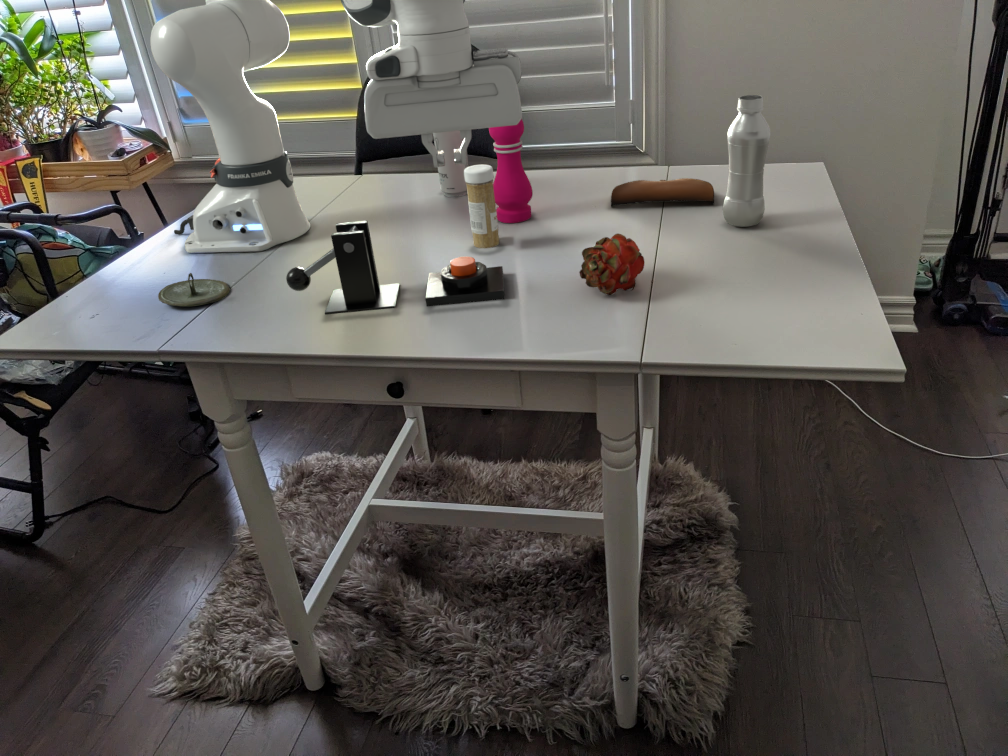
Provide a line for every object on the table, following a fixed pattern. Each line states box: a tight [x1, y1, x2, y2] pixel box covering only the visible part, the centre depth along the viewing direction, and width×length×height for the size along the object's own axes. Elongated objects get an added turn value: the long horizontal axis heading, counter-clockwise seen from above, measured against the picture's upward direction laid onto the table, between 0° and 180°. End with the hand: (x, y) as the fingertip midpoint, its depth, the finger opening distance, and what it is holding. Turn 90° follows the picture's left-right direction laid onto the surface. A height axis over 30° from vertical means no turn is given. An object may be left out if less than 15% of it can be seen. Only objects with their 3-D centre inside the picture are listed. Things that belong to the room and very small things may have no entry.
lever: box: [285, 226, 366, 292], centre depth 113 cm, size 13×3×3 cm, turn 91°
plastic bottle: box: [722, 94, 772, 228], centre depth 126 cm, size 6×7×20 cm
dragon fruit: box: [578, 233, 645, 296], centre depth 112 cm, size 8×8×12 cm
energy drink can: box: [433, 131, 470, 198], centre depth 156 cm, size 6×6×15 cm
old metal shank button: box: [157, 272, 231, 307], centre depth 123 cm, size 11×10×5 cm
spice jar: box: [464, 163, 500, 249], centre depth 129 cm, size 5×5×13 cm
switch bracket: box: [324, 220, 401, 315], centre depth 114 cm, size 10×8×12 cm
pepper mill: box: [488, 118, 534, 224], centre depth 139 cm, size 7×7×20 cm
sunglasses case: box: [610, 177, 715, 208], centre depth 143 cm, size 18×7×7 cm
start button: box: [449, 255, 476, 276], centre depth 114 cm, size 4×4×2 cm
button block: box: [424, 261, 505, 308], centre depth 116 cm, size 11×9×4 cm
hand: (450, 164), depth 107 cm, fingers closed
